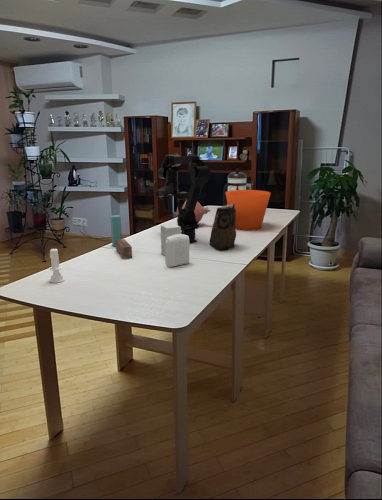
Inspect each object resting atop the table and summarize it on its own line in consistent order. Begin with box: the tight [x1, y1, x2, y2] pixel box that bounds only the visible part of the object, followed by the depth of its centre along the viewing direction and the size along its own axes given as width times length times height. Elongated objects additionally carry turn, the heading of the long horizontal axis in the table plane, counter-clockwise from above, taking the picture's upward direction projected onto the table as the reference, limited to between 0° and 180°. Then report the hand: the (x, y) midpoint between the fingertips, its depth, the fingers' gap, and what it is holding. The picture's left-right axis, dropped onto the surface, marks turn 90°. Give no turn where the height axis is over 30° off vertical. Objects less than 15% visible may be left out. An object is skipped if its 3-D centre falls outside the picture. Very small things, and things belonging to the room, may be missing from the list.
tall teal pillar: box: [109, 214, 123, 248], centre depth 180 cm, size 4×4×14 cm
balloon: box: [176, 200, 211, 226], centre depth 221 cm, size 15×20×15 cm
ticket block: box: [115, 238, 133, 260], centre depth 168 cm, size 4×14×5 cm, turn 22°
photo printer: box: [164, 234, 190, 268], centre depth 153 cm, size 10×4×12 cm, turn 123°
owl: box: [209, 204, 237, 252], centre depth 175 cm, size 13×13×20 cm
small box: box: [160, 223, 181, 256], centre depth 165 cm, size 8×6×13 cm
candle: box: [48, 248, 66, 284], centre depth 136 cm, size 5×5×12 cm
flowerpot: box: [225, 189, 272, 232], centre depth 216 cm, size 25×25×20 cm
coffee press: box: [222, 168, 248, 206], centre depth 254 cm, size 17×16×30 cm
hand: (172, 211), depth 197 cm, fingers open, 9 cm apart
